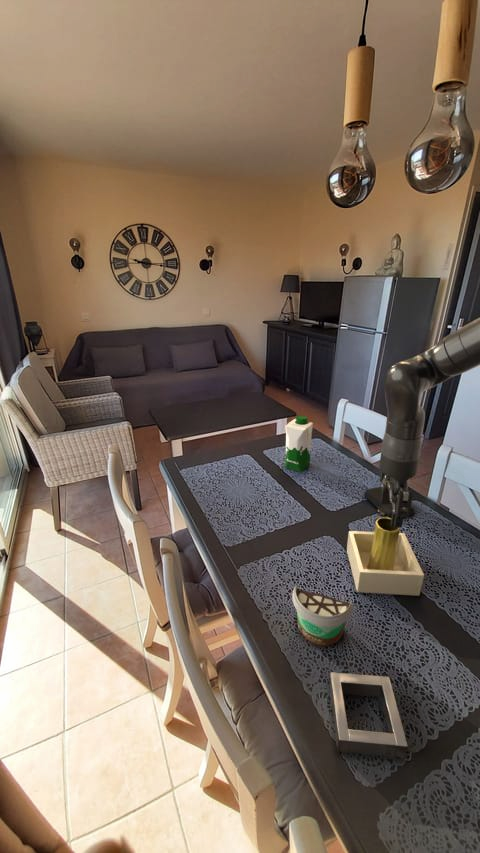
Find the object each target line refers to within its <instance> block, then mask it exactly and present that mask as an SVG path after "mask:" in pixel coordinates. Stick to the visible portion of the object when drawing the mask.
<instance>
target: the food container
mask: <svg viewBox="0 0 480 853" xmlns="http://www.w3.org/2000/svg"><path fill="white" fill-rule="evenodd" d="M291 597H292V598H291V600H292V603H293V606H294V608H295V609H296V610H295V611H296V617H297V626H298V629H299V632H300V634H301V635H302V636H303V637H304V638H305V639H306V640H307V641H308V642H310V643H312V644H313V645H316V646H321V647H328V646H332V645H335V644H336V643H337V642H339V640H340V639H341V638H342V635H343V634H344V630H345V627H346V623H347V621H348V620H349V619H350V618H351V617H352V615H353V612H354V603H353V601H352V600H350V603H349V602H347V601H341V600H338V599H335V598H334V597H330V596H328V595H325V594H322V593H315V592H311V591H307V590H303V589H299V588H297V585H295V586H294V587H293V590H292V596H291Z"/></svg>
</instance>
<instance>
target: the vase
mask: <svg viewBox="0 0 480 853" xmlns="http://www.w3.org/2000/svg"><path fill="white" fill-rule="evenodd" d="M373 532H374V538H373V545H372V550H371V555H370V560H369V563H368V565H367V568H368V569H369V570H389V571H393V569H394V562H395V556H396V550H397V543H398V537H399V533H400V532H401V527H400V528H397V527H392V526H391V518H388V517H386V516H381V517H379V518H378V519H377V520H376V521H375V526H374V531H373Z"/></svg>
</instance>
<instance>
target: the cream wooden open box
mask: <svg viewBox="0 0 480 853" xmlns="http://www.w3.org/2000/svg"><path fill="white" fill-rule="evenodd" d="M374 532H375V531H360V530H349V531H348V535H347V545H346V552H347V557H348V561H349V565H350V569H351V574H352V577H353V582H354V586H355V590H356V592H357V593H364V594H365V593H366V594H382V595H383V594H384V595H401V596H417V597H419V596H420V595H421V591H422V586H423V582H424V579H425V574H424V572H423V570H422V568H421V566H420V563H419V561H418V559H417V557H416V555H415V552H414V550H413V548H412V547H411V545H410V541H409V540H408V538H407V535H406V534H405V532H399V537H398V543H397V550H396V556H395V562H394V569H393V571H389V570H369V569H368V568H367V565H368V563H369V560H370V555H371V550H372V545H373V538H374Z"/></svg>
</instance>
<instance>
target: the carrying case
mask: <svg viewBox="0 0 480 853" xmlns="http://www.w3.org/2000/svg"><path fill="white" fill-rule="evenodd" d="M382 490H383V489H382V488H381V486H376V487H372V488H367V489H366V490H365V491H364V496H365V498H366V499H368V501H369V502H370V503H371V504H372V505H374V507H375V508H376V509H377V512H378V513H379V514H380V515H382V516H383V517H388V518H391V519H392V512H393V508H392V503H391V504H382V503H381V496H382ZM393 497H394V499H397V498H398V497H397V496H393ZM396 506H397V503H396ZM415 512H416V511H415V508H414V507H413V506H412V505H411V509H410V516H412V515H414V514H415Z"/></svg>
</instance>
